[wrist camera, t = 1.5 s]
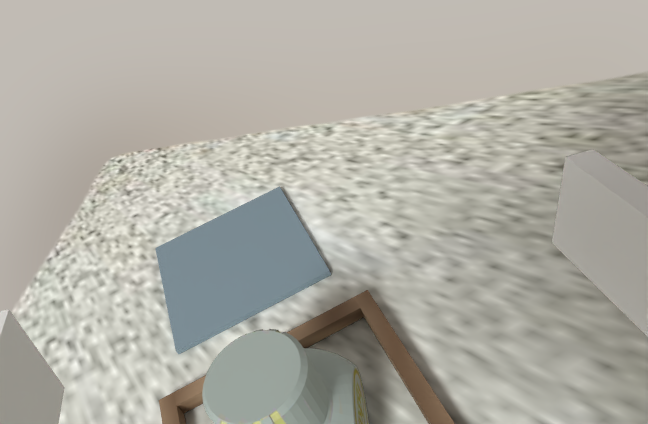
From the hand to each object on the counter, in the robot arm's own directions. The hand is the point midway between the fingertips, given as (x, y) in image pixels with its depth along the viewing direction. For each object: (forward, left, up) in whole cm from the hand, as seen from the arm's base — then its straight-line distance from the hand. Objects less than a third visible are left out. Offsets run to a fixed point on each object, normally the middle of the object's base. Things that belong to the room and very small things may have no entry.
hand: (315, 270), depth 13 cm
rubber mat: (+5, -29, -23) cm, 37 cm away
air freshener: (+5, -9, -24) cm, 26 cm away
